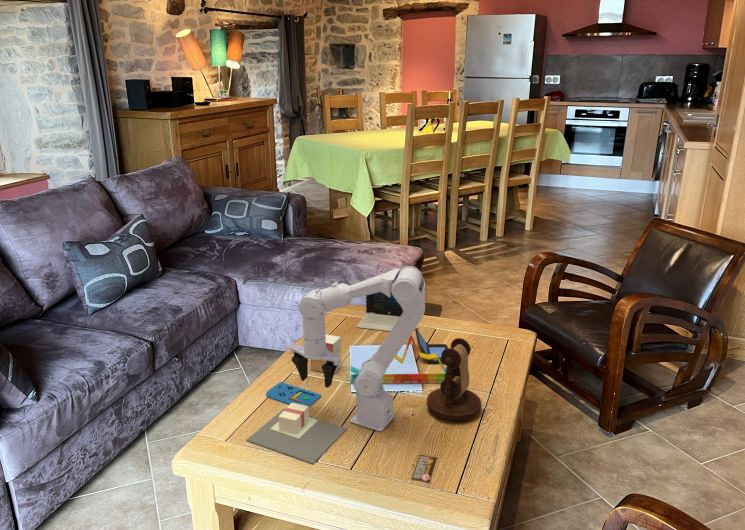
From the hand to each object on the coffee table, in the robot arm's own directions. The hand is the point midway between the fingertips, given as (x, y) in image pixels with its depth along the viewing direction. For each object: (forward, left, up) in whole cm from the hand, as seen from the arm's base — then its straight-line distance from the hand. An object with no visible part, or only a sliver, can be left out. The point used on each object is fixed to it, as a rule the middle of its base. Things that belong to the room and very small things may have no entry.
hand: (316, 382), depth 162 cm
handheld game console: (-15, -45, -10) cm, 49 cm away
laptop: (+10, -60, -10) cm, 61 cm away
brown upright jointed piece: (-32, -19, -10) cm, 38 cm away
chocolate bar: (-35, +8, -10) cm, 37 cm away
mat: (-1, +11, -9) cm, 15 cm away
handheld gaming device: (+11, -4, -10) cm, 15 cm away
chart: (-13, -26, -10) cm, 31 cm away
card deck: (+2, +8, -9) cm, 12 cm away
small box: (+11, -22, -10) cm, 26 cm away
